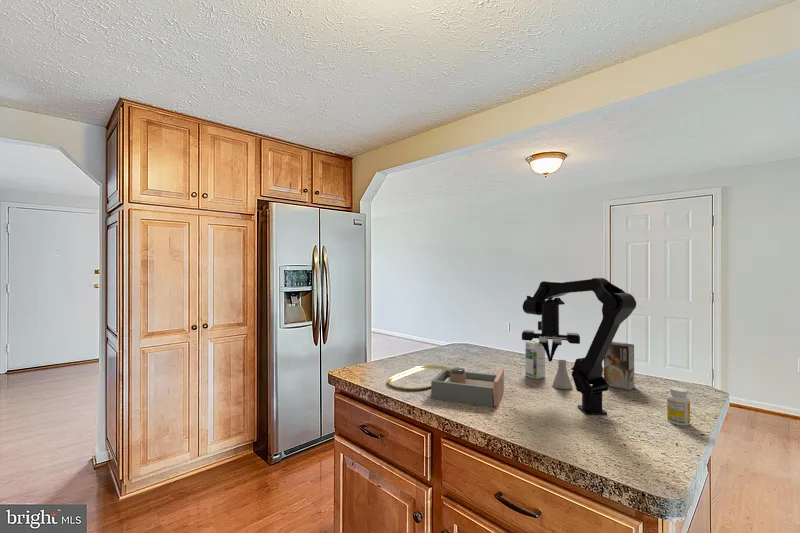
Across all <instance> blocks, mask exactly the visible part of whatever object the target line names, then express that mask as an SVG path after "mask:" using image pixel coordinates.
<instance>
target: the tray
mask: <svg viewBox="0 0 800 533" xmlns="http://www.w3.org/2000/svg"><path fill="white" fill-rule="evenodd" d="M496 375H497V376H496V378H495V380H494V382H490V381H481V380H472V379H466V384H470V385H479V386H487V387H493V407H498V406H499V404H500V401H501V399H502V396H503V394H504V392H505V368H500V369H499V371H498V373H496ZM445 382H451V377H448V378H447V379H446V380H445Z"/></svg>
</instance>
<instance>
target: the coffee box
mask: <svg viewBox="0 0 800 533" xmlns="http://www.w3.org/2000/svg"><path fill="white" fill-rule="evenodd" d="M603 378H604V379H605V380H606V382H607V383H608V384H609V387H613V388H618V389H623V390H626V391H631V390H632V389H634V388H635V386H636V385H635V344H631V343H628V342H627V343H626V342H617V341H612V342H611V345H610V347H609V349H608V351H607V353H606V355H605V357H604V359H603Z"/></svg>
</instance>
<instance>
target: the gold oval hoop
mask: <svg viewBox="0 0 800 533" xmlns="http://www.w3.org/2000/svg"><path fill="white" fill-rule="evenodd" d="M444 369H447V370H451V369H453V368H451V367H448V366H443V365H434V364H433V365H421V366H416V367H414V368H413V367H412V368H411V369H408V370H406V371H403V372H401V373H398V374H395V375H393V376H391V377H389V378H388V379H387V383H388V384H389V386H390V387H391V388H394V389H397V390H401V391H411V392H413V391H415V392H416V391H424V390H428V389H431V385H428V386H425V387H424V386H422V387H402V386H397V385H393V382H394V381H397V380H398V379H401V378H403V377H407V376H409V375H411V374H413V373H416V372H419V371H421V370H422V371H423V370H441V371H443V370H444Z"/></svg>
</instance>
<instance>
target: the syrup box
mask: <svg viewBox="0 0 800 533" xmlns="http://www.w3.org/2000/svg"><path fill="white" fill-rule="evenodd" d="M524 347H525V349H524V352H525V363H524V365H525V367H524V369H525V370H524V372H525V374H524V375H525V377H529V378H531V379H533V380H538V379H544V378H546V351H545V349H544V347H543V345H542V344H539V341H538V340H535V339H532V340H531V341H529V340H525V346H524Z"/></svg>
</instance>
